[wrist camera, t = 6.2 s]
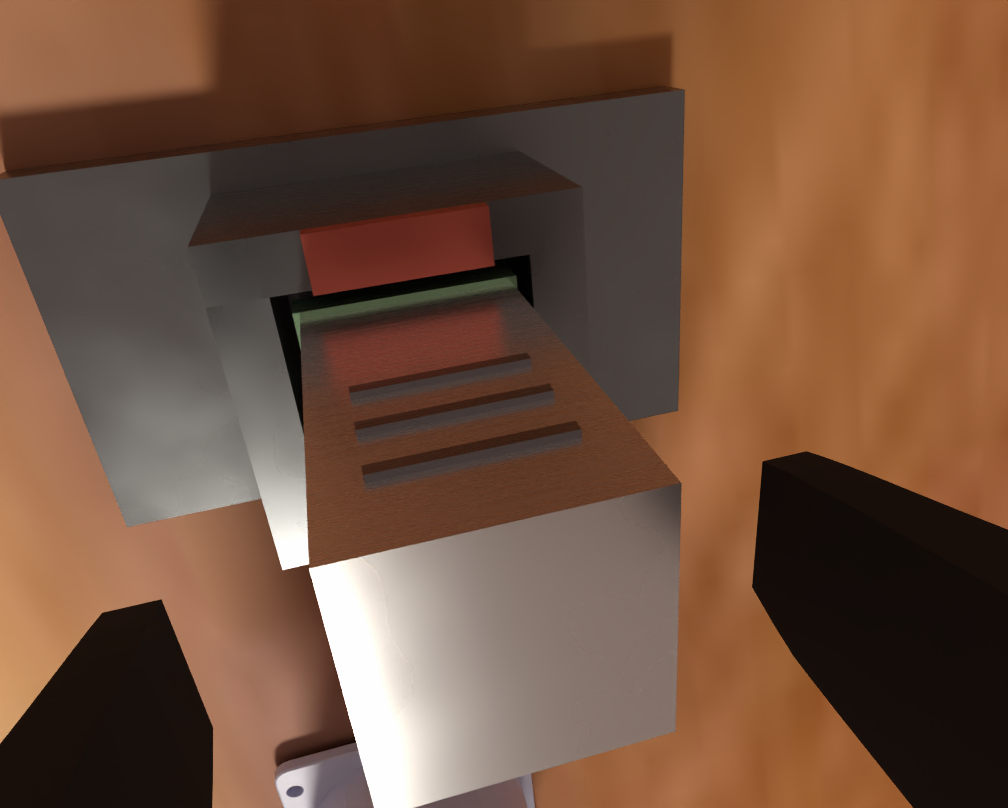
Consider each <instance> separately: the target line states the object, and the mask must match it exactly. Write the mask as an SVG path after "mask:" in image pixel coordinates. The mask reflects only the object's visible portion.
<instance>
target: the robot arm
mask: <svg viewBox="0 0 1008 808" xmlns="http://www.w3.org/2000/svg"><path fill="white" fill-rule="evenodd" d="M752 588H753V589H754V591H755V593H756V594H757V596H758V598H759V600H760V601H761V603H762V605H763V607H764V608H765V610H766V612H767V613H768V615H769V617H770V619H771V620H772V622H773V624H774V626H775V627H776V629H777V630H778V632H779V634H780V635H781V637H782V638H783V640H784V641H785V643H786V645H787V646H788V648H789V649H790V651H791V653H792V654H793V656H794V657H795V659H796V660H797V661H798V662H799V664H800V665H801V666H802V668H803V669H804V670H805V672H806V673H807V674H808V676H809V677H810V678H811V679H812V681H813V682H814V683H815V684H816V686H817V687H818V688H819V690H820V691H821V692H822V693H823V695H824V696H825V697H826V699H827V700H828V701H829V702H830V704H831V705H832V706H833V707H834V709H835V710H836V711H837V713H838V714H839V715H840V716H841V718H842V719H843V720H844V721H845V723H846V724H847V725H848V726H849V728H850V729H851V730H852V731H853V733H854V734H855V735H856V736H857V738H858V739H859V740H860V741H861V743H862V744H863V745H864V746H865V748H866V749H867V750H868V751H869V753H870V754H871V755H872V756H873V758H874V759H875V760H876V761H877V763H878V764H879V765H880V767H881V768H882V769H883V770H884V772H885V773H886V774H887V775H888V777H889V778H890V779H891V780H892V782H893V783H894V784H895V785H896V787H897V788H898V789H899V790H900V792H901V793H902V794H903V795H904V797H905V798H906V799H907V800H908V802H909V803H910V804H911V805H912V807H913V808H1008V530H1007V529H1005V528H1002V527H1000V526H997V525H995V524H992V523H989V522H987V521H984V520H982V519H979V518H977V517H974V516H972V515H969V514H967V513H964V512H962V511H959V510H957V509H954V508H952V507H949V506H947V505H944V504H942V503H939V502H937V501H934V500H932V499H929V498H927V497H925V496H922V495H920V494H917V493H915V492H912V491H910V490H907V489H905V488H902V487H900V486H897V485H895V484H893V483H890V482H888V481H885V480H883V479H880V478H878V477H875V476H873V475H870V474H868V473H865V472H863V471H860V470H857V469H855V468H852V467H850V466H847V465H844V464H842V463H839V462H836V461H834V460H831V459H828V458H825V457H822V456H819V455H816V454H813V453H810V452H807V451H806V452H802V453H797V454H793V455H789V456H784V457H780V458H776V459H771V460H767V461H763V464H762V476H761V488H760V500H759V512H758V524H757V536H756V548H755V560H754V572H753V584H752ZM275 786H276V789H277V791H278V794H279V797H280V800H281V802H282V805H283V808H374V804H373V801H372V797H371V794H370V790H369V786H368V783H367V779H366V775H365V772H364V768H363V764H362V761H361V757H360V753H359V750H358V746H357V742H355V743H351V744H348V745H344V746H340V747H337V748H333V749H329V750H326V751H322V752H319V753H315V754H311V755H308V756H304V757H300V758H297V759H293V760H289V761H286V762H284V763H282V764H281V765H280V766H278V767H277V769H276V771H275ZM212 790H213V727H212V724H211V722H210V719H209V717H208V714H207V712H206V709H205V707H204V704H203V702H202V699H201V697H200V694H199V692H198V689H197V687H196V684H195V682H194V679H193V677H192V674H191V672H190V669H189V667H188V664H187V662H186V659H185V657H184V654H183V652H182V649H181V647H180V644H179V642H178V640H177V637H176V635H175V632H174V630H173V627H172V625H171V622H170V620H169V617H168V615H167V612H166V610H165V607H164V605H163V602H162V600H157V601H152V602H148V603H143V604H139V605H135V606H130V607H126V608H122V609H117V610H113V611H109V612H104V613H102V614H101V615H100V616H99V618H98V619H97V620H96V621H95V622H94V624H93V625H92V626H91V627H90V629H89V630H88V631H87V632H86V634H85V635H84V636H83V638H82V639H81V640H80V642H79V643H78V644H77V645H76V647H75V648H74V649H73V651H72V652H71V653H70V655H69V656H68V657H67V658H66V660H65V661H64V662H63V664H62V665H61V666H60V668H59V669H58V670H57V672H56V673H55V674H54V675H53V677H52V678H51V679H50V681H49V682H48V683H47V685H46V686H45V687H44V689H43V690H42V691H41V692H40V694H39V695H38V696H37V698H36V699H35V700H34V702H33V703H32V704H31V705H30V707H29V708H28V709H27V711H26V712H25V713H24V714H23V716H22V717H21V718H20V720H19V721H18V722H17V723H16V725H15V726H14V727H13V728H12V730H11V731H10V732H9V734H8V735H7V736H6V737H5V739H4V740H3V741H2V742H1V744H0V808H212ZM414 808H535V803H534V794H533V785H532V776H531V774H527V775H524V776H521V777H517V778H514V779H510V780H507V781H503V782H500V783H497V784H493V785H490V786H486V787H483V788H480V789H476V790H473V791H469V792H466V793H462V794H459V795H456V796H452V797H449V798H445V799H442V800H438V801H435V802H432V803H428V804H425V805H421V806H418V807H414Z"/></svg>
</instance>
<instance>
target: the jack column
mask: <svg viewBox="0 0 1008 808" xmlns="http://www.w3.org/2000/svg"><path fill="white" fill-rule="evenodd" d="M494 263H495V262H494ZM292 315H293V319H294V323H295V328H296V332H297V336H298V340H299V344H300V349H301V365H302V392H303V419H304V446H305V473H306V501H307V528H308V555H309V570H310V574H311V578H312V581H313V585H314V589H315V592H316V596H317V600H318V603H319V607H320V611H321V614H322V618H323V622H324V625H325V629H326V633H327V636H328V640H329V644H330V647H331V651H332V655H333V658H334V662H335V666H336V669H337V673H338V677H339V680H340V684H341V687H342V691H343V695H344V698H345V702H346V706H347V709H348V713H349V717H350V720H351V724H352V728H353V731H354V735H355V739H356V742H357V746H358V750H359V753H360V757H361V761H362V764H363V768H364V772H365V775H366V779H367V783H368V786H369V790H370V794H371V797H372V801H373V804H374V808H414V807H418V806H421V805H425V804H428V803H432V802H435V801H438V800H442V799H445V798H449V797H452V796H456V795H459V794H462V793H466V792H469V791H473V790H476V789H480V788H483V787H486V786H490V785H493V784H497V783H500V782H503V781H507V780H510V779H514V778H517V777H521V776H524V775H527V774H531V773H534V772H538V771H541V770H545V769H548V768H551V767H555V766H558V765H562V764H565V763H569V762H572V761H575V760H579V759H582V758H586V757H589V756H593V755H596V754H599V753H603V752H606V751H610V750H613V749H617V748H620V747H623V746H627V745H630V744H634V743H637V742H640V741H644V740H647V739H651V738H654V737H658V736H661V735H664V734H668V733H671V732H675V728H676V687H677V645H678V604H679V563H680V521H681V482H680V481H679V480H678V478H677V477H676V476H675V475H674V474H673V473H672V471H671V470H670V469H669V468H668V467H667V465H666V464H665V463H664V462H663V461H662V460H661V458H660V457H659V456H658V455H657V454H656V452H655V451H654V450H653V449H652V448H651V447H650V445H649V444H648V443H647V442H646V441H645V439H644V438H643V437H642V436H641V435H640V434H639V432H638V431H637V430H636V429H635V428H634V427H633V425H632V424H631V423H630V422H629V421H628V419H627V418H626V417H625V416H624V415H623V414H622V412H621V411H620V410H619V409H618V408H617V406H616V405H615V404H614V403H613V402H612V401H611V399H610V398H609V397H608V396H607V395H606V393H605V392H604V391H603V390H602V389H601V388H600V386H599V385H598V384H597V383H596V382H595V380H594V379H593V378H592V377H591V376H590V375H589V373H588V372H587V371H586V370H585V369H584V367H583V366H582V365H581V364H580V363H579V362H578V360H577V359H576V358H575V357H574V356H573V355H572V353H571V352H570V351H569V350H568V349H567V347H566V346H565V345H564V344H563V343H562V342H561V340H560V339H559V338H558V337H557V336H556V334H555V333H554V332H553V331H552V330H551V329H550V327H549V326H548V325H547V324H546V323H545V321H544V320H543V319H542V318H541V317H540V316H539V314H538V313H537V312H536V311H535V310H534V308H533V307H532V306H531V305H530V304H529V303H528V301H527V300H526V299H525V298H524V297H523V296H522V294H521V293H520V292H519V291H518V290H517V279H516V275H515V274H514V273H513V271H512V270H511V269H510V268H509V267H508V266H507V265H506V264H504V265H499V266H497V265H496V264H495V266H490V267H484V268H478V269H472V270H466V271H460V272H454V273H448V274H442V275H436V276H430V277H424V278H419V279H413V280H407V281H401V282H395V283H389V284H383V285H377V286H371V287H365V288H359V289H353V290H347V291H341V292H335V293H329V294H323V295H317V296H313V292H312V291H306V292H300V293H299V299H295V300H292Z"/></svg>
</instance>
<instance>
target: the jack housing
mask: <svg viewBox="0 0 1008 808" xmlns="http://www.w3.org/2000/svg"><path fill="white" fill-rule="evenodd" d="M684 97H685V90H683V89H678V88H672V87H667V86H663V87H655V88H647V89H640V90H632V91H624V92H616V93H609V94H601V95H593V96H585V97H578V98H570V99H562V100H555V101H547V102H539V103H531V104H524V105H516V106H508V107H501V108H493V109H485V110H477V111H470V112H462V113H454V114H447V115H439V116H431V117H423V118H416V119H408V120H400V121H392V122H385V123H377V124H369V125H362V126H354V127H346V128H338V129H331V130H323V131H315V132H308V133H300V134H292V135H284V136H277V137H269V138H261V139H253V140H246V141H238V142H230V143H223V144H215V145H207V146H199V147H192V148H184V149H176V150H169V151H161V152H153V153H145V154H138V155H130V156H122V157H114V158H107V159H99V160H91V161H84V162H76V163H68V164H60V165H53V166H45V167H37V168H30V169H22V170H14V171H6V172H3V173H1V174H0V215H1V217H2V220H3V222H4V225H5V227H6V230H7V232H8V235H9V237H10V240H11V242H12V244H13V247H14V249H15V252H16V254H17V257H18V259H19V262H20V264H21V267H22V269H23V272H24V274H25V276H26V279H27V281H28V284H29V286H30V289H31V291H32V294H33V296H34V299H35V301H36V304H37V306H38V309H39V311H40V313H41V316H42V318H43V321H44V323H45V326H46V328H47V331H48V333H49V336H50V338H51V341H52V343H53V345H54V348H55V350H56V353H57V355H58V358H59V360H60V363H61V365H62V368H63V370H64V373H65V375H66V377H67V380H68V382H69V385H70V387H71V390H72V392H73V395H74V397H75V400H76V402H77V405H78V407H79V410H80V412H81V414H82V417H83V419H84V422H85V424H86V427H87V429H88V432H89V434H90V437H91V439H92V442H93V444H94V446H95V449H96V451H97V454H98V456H99V459H100V461H101V464H102V466H103V469H104V471H105V474H106V476H107V478H108V481H109V483H110V486H111V488H112V491H113V493H114V496H115V498H116V501H117V503H118V506H119V508H120V510H121V513H122V515H123V518H124V520H125V523H126V525H127V527H130V526H135V525H139V524H144V523H149V522H153V521H158V520H163V519H168V518H172V517H177V516H182V515H187V514H191V513H196V512H201V511H206V510H210V509H215V508H220V507H224V506H229V505H234V504H239V503H243V502H248V501H253V500H258V499H262V502H263V505H264V509H265V512H266V515H267V519H268V522H269V526H270V529H271V532H272V536H273V539H274V542H275V546H276V549H277V553H278V556H279V559H280V563H281V566H282V570H285V569H290V568H294V567H298V566H303V565H307V564H309V555H308V528H307V501H306V473H305V446H304V419H303V392H302V365H301V349H300V344H299V340H298V336H297V332H296V328H295V323H294V319H293V315H292V300H295V299H299V293H300V292H306V291H312V292H313V296H317V295H323V294H329V293H335V292H341V291H347V290H353V289H359V288H365V287H371V286H377V285H383V284H389V283H395V282H401V281H407V280H413V279H419V278H424V277H430V276H436V275H442V274H448V273H454V272H460V271H466V270H472V269H478V268H484V267H490V266H495V264H496V265H497V266H499V265H504V264H506V265H507V266H508V267H509V268H510V269H511V270H512V271H513V273H514V274H515V275H516V279H517V290H518V291H519V292H520V293H521V294H522V296H523V297H524V298H525V299H526V300H527V301H528V303H529V304H530V305H531V306H532V307H533V308H534V310H535V311H536V312H537V313H538V314H539V316H540V317H541V318H542V319H543V320H544V321H545V323H546V324H547V325H548V326H549V327H550V329H551V330H552V331H553V332H554V333H555V334H556V336H557V337H558V338H559V339H560V340H561V342H562V343H563V344H564V345H565V346H566V347H567V349H568V350H569V351H570V352H571V353H572V355H573V356H574V357H575V358H576V359H577V360H578V362H579V363H580V364H581V365H582V366H583V367H584V369H585V370H586V371H587V372H588V373H589V375H590V376H591V377H592V378H593V379H594V380H595V382H596V383H597V384H598V385H599V386H600V388H601V389H602V390H603V391H604V392H605V393H606V395H607V396H608V397H609V398H610V399H611V401H612V402H613V403H614V404H615V405H616V406H617V408H618V409H619V410H620V411H621V412H622V414H623V415H624V416H625V417H626V418H627V419H628V421H631V420H636V419H641V418H645V417H650V416H655V415H659V414H664V413H669V412H674V411H678V389H679V341H680V292H681V243H682V195H683V146H684ZM494 262H495V263H494Z"/></svg>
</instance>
